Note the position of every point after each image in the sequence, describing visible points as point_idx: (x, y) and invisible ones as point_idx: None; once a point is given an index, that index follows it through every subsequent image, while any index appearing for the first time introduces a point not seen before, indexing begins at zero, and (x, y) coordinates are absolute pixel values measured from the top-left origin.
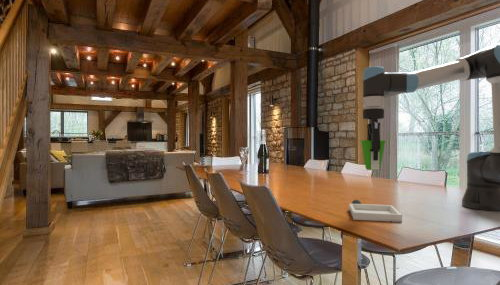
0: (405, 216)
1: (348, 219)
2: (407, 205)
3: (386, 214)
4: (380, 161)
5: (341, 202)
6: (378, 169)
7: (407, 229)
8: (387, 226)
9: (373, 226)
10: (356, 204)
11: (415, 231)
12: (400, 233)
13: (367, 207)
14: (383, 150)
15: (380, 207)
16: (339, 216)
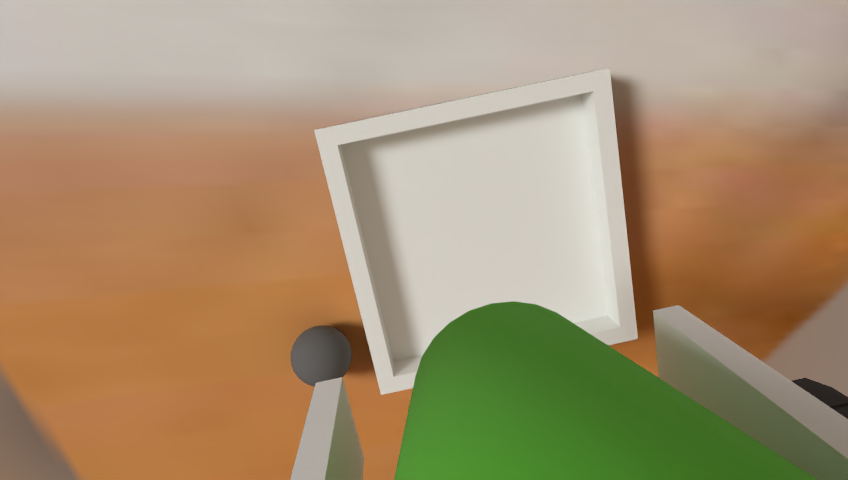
0: (428, 45)
1: (622, 344)
2: (15, 12)
3: (618, 160)
4: (598, 341)
5: (171, 450)
6: (682, 314)
7: (743, 47)
8: (710, 149)
9: (729, 215)
10: (387, 352)
11: (772, 7)
12: (827, 85)
13: (372, 282)
14: (636, 403)
15: (352, 204)
16: None
